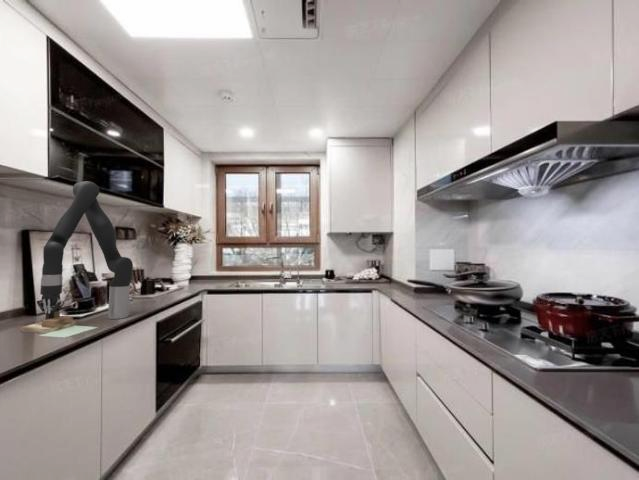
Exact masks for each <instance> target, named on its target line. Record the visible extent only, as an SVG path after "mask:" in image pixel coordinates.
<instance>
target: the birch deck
mask: <svg viewBox="0 0 639 480" xmlns="http://www.w3.org/2000/svg"><path fill="white" fill-rule="evenodd" d="M71 326H77V321H73V323H71V324H67V325H63V326H59V327H55V328H45V327H42V321H41V322H36V323H33V324H29V325H24V326H20V332H23V333H33V334H34V333H35V334H46V333H50V332H53V331H57V330H60V329H64V328H68V327H71Z"/></svg>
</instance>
